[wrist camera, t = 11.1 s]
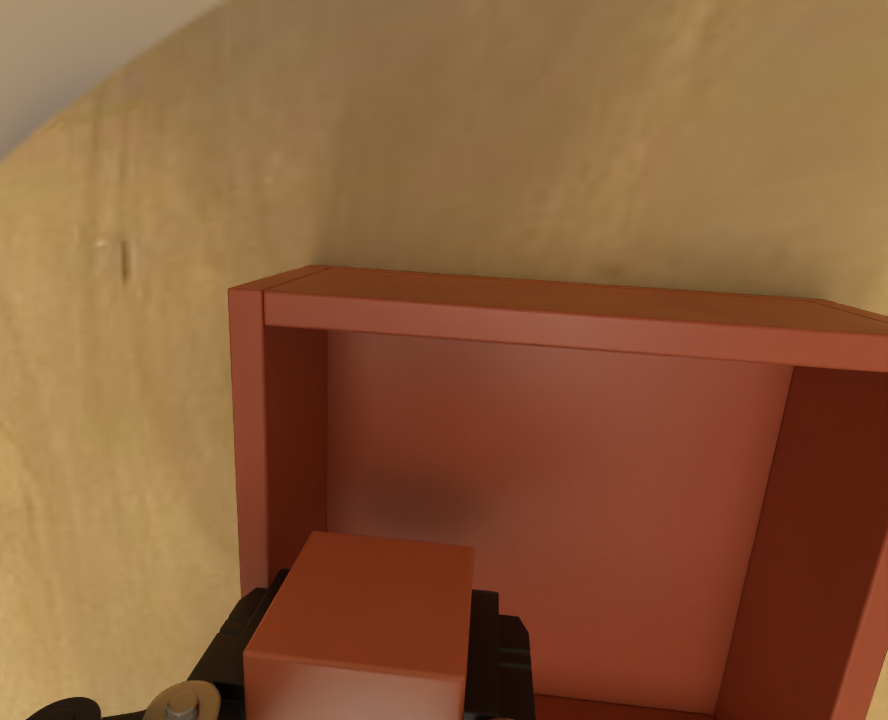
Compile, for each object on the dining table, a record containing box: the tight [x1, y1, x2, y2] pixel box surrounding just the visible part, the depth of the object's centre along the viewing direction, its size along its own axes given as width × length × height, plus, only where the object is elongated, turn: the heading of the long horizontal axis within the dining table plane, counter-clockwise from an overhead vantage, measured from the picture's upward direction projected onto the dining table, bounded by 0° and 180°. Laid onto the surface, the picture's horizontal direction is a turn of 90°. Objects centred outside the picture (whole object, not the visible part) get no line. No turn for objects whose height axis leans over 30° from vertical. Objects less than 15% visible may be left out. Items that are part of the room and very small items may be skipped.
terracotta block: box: [243, 531, 474, 720], centre depth 12 cm, size 4×4×4 cm
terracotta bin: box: [228, 265, 888, 720], centre depth 16 cm, size 16×16×6 cm
